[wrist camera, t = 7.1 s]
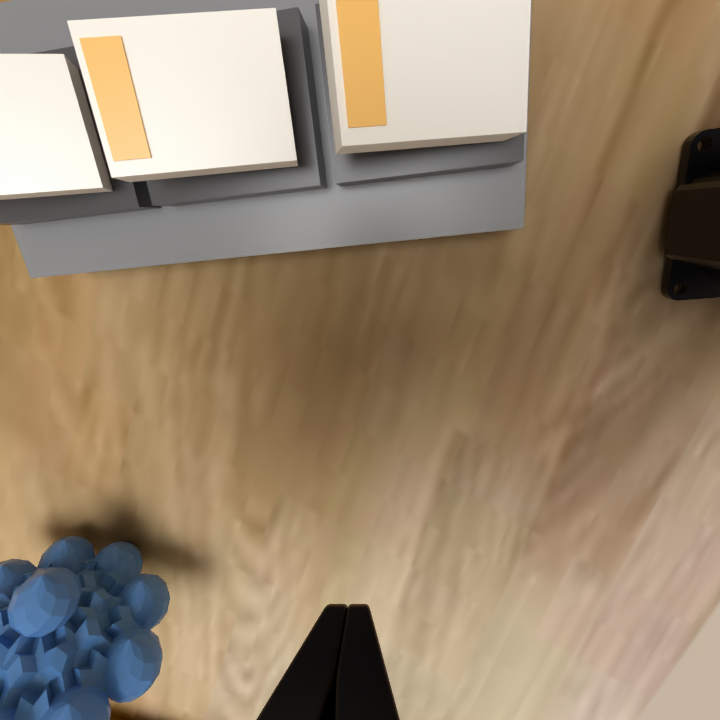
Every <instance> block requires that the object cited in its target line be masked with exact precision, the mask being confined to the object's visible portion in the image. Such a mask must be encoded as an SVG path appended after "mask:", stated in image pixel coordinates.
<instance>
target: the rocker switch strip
mask: <svg viewBox="0 0 720 720" xmlns="http://www.w3.org/2000/svg"><path fill="white" fill-rule="evenodd" d="M264 8H276V14H277V20H278V27H279V34H280V41H281V48H282V55H283V62H284V70H285V77H286V84H287V91H288V98H289V105H290V113H291V120H292V127H293V134H294V141H295V148H296V155H297V163H298V166H295V167H284V168H274V169H263V170H253V171H242V172H232V173H221V174H211V175H200V176H190V177H179V178H169V179H158V180H148V181H137V182H127V181H123V180H119V179H115V178H112V177H111V174H110V170H109V167H108V163H107V160H106V156H105V153H104V149H103V146H102V142H101V139H100V135H99V132H98V128H97V125H96V121H95V118H94V114H93V111H92V107H91V104H90V100H89V97H88V93H87V90H86V86H85V83H84V79H83V76H82V72H81V69H80V65H79V62H78V58H77V55H76V51H75V48H74V44H73V40H72V37H71V33H70V30H69V26H68V23H67V21H69V20H85V19H102V18H118V17H134V16H150V15H166V14H183V13H199V12H215V11H231V10H247V9H264ZM531 11H532V0H531ZM530 40H531V15H530ZM0 54H64V55H65V56H66V57H67V58H68V59H69V60H70V61H71V62H72V63H73V64H74V66H75V67H76V68H77V69H78V71H79V75H80V78H81V82H82V85H83V89H84V92H85V96H86V99H87V103H88V106H89V110H90V113H91V117H92V120H93V124H94V127H95V131H96V134H97V138H98V141H99V145H100V148H101V152H102V155H103V159H104V162H105V166H106V169H107V173H108V176H109V180H110V183H111V187H112V190H113V191H111V192H99V193H85V194H72V195H59V196H46V197H33V198H20V199H6V200H0V225H11V227H12V229H13V232H14V235H15V237H16V240H17V243H18V245H19V248H20V251H21V253H22V256H23V259H24V261H25V264H26V267H27V269H28V272H29V275H30V277H31V278H38V277H48V276H58V275H68V274H77V273H87V272H97V271H107V270H117V269H127V268H137V267H147V266H156V265H166V264H176V263H186V262H196V261H206V260H216V259H225V258H235V257H245V256H255V255H265V254H275V253H285V252H294V251H304V250H314V249H324V248H334V247H344V246H354V245H364V244H373V243H383V242H393V241H403V240H413V239H423V238H433V237H442V236H452V235H462V234H472V233H482V232H492V231H502V230H511V229H521V228H524V213H525V184H526V155H527V132H525V133H522V134H520V135H517V136H515V137H512V138H510V139H507V140H505V141H497V142H485V143H472V144H460V145H448V146H436V147H423V148H411V149H399V150H386V151H374V152H362V153H350V154H337V155H336V151H335V142H334V133H333V124H332V115H331V106H330V97H329V87H328V78H327V69H326V60H325V51H324V42H323V33H322V24H321V15H320V5H319V0H12V1H7V2H2V3H0ZM529 69H530V44H529ZM528 97H529V74H528ZM527 126H528V103H527Z"/></svg>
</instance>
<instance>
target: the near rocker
mask: <svg viewBox="0 0 720 720" xmlns="http://www.w3.org/2000/svg"><path fill="white" fill-rule="evenodd" d="M319 5H320V15H321V24H322V33H323V42H324V51H325V60H326V69H327V78H328V87H329V97H330V106H331V115H332V124H333V133H334V142H335V151H336V155H337V154H350V153H362V152H374V151H386V150H399V149H411V148H423V147H436V146H448V145H460V144H472V143H485V142H497V141H505V140H507V139H510V138H512V137H515V136H517V135H520V134H522V133H525V132H527V103H528V74H529V44H530V15H531V0H319Z"/></svg>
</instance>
